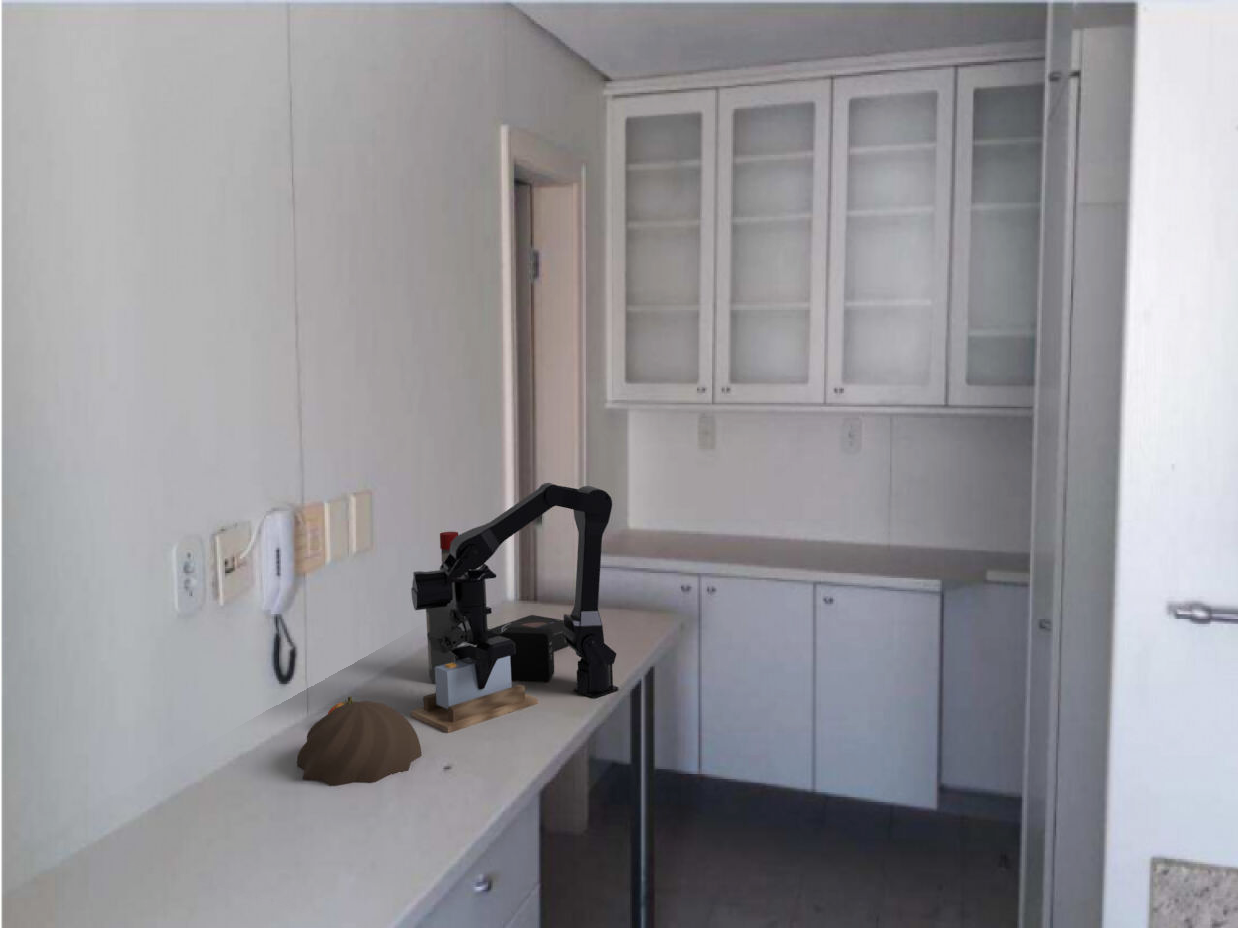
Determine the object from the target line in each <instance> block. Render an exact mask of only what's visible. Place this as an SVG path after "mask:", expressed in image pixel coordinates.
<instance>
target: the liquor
mask: <svg viewBox="0 0 1238 928" xmlns="http://www.w3.org/2000/svg"><path fill="white" fill-rule="evenodd" d="M458 535H459V532H458V531H443V532H440V533H439V544H440V545H439V547H440V550H441V551H440V552H441V553H440V554H441V565H442V564H443V562H444V561H445V559H446V557H447V556H448V554H449V553H450V546H451V542H452V540H453V539H454V538H455V537H456V536H458ZM452 589H453V599H452V601H451V602H450V603H448V604H447V607H439V608H431V609H425V614H426V615H425V617H426V634H427V633H428V632H430V631H431V630H433V629H434V628H435V627H437V626H439V625H440V624H441V623H443V622H446V621H448V620H449V613H450V612H451V611H450V610H452V609H455V596H454V583H452ZM426 637H427V638H426V639H427V653H428V655H427V656H428V659H427V661H428V675H429V678H430V679H431V682H432V683H434V684H435V685H436V683H435V667H437V666H440V665H444V664H448V663H451V662H455V661H456V660H455V657H454V656H453V655H452V654H451V653H449V652H448V653H441V652H440V651H437V650H433V649H432V646H431V644H430V641H429V639H428V636H427V635H426Z"/></svg>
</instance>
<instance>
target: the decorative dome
mask: <svg viewBox="0 0 1238 928" xmlns="http://www.w3.org/2000/svg"><path fill="white" fill-rule="evenodd" d="M420 757H422V747H421V743H420V740H419V736H418V734H417V731H416V730H415V728H414V727H413V725H412V724H411V723H410V722H409V721H408V719H406V717H404V716H403V715H402V714H401V713H400V712H398V711H397V710H395V709H394V708H392V707H390V706H389V705H386V704H384V703H381V702H376V701H375V702H374V701H368V700H362V701H354V702H353V703H349V704H345V705H342V706H340V707H338V708H336V709H334V710H333V711H332V712H331V713H329V714H328V713H327V714H326V715H325V716H323V717H321V718H320V719H319V720H318V721H317V722H315V723H314V724H313V725H312V727H311V728H310V729H309V731H308V732H307V734H306V742H305V743H304V744H303V745H302V747H301V749H300V750H299V752H298V754H297V756H296V766H297V767H298V768H299V769H300V770H302V771H303V775H302V779H303V780H304V781H316V782H322V783H324V784H326V785H328V786H331V787H337V786H343V785H348V784H349V785H350V784H352V783H353V784H354V783H357V784H359V783H361V784H373V783H377V782H378V781H380V780H382V779H384V778H386V777H388V776H391V774H392V775H395V774H396V773H397V774H399V773H398V772H401V773H405V772H408V771H409V770H410V768H411V764H412V763H413V762H414V761H416V760H417V759H419V758H420ZM404 771H405V772H404Z"/></svg>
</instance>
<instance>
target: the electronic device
mask: <svg viewBox="0 0 1238 928" xmlns="http://www.w3.org/2000/svg"><path fill="white" fill-rule="evenodd" d="M500 636H501V637H505V638H508V639H511V640H512V641H513V642H514V643H515V654H514V655H511V656H510V663H511V682H522V683H523V682H526V683H528V682H529V683H548V682H549V680H551V678H552V677H553V676H554V674H555V652H554V644H553V631H552V630H551V629H550V628H527V627H508V628H507V629H504V631H501V634H500Z"/></svg>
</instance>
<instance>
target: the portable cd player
mask: <svg viewBox="0 0 1238 928" xmlns="http://www.w3.org/2000/svg"><path fill="white" fill-rule="evenodd" d="M508 627H527V628H550V629H551V630H552V631H553V644H554V653H555V652H558V651H560V650H563V649H566V648H568V647H570V646H569V645H568V644H567V642H566V640H565V636H564V635H563V634H562V632H563V630H564V619H558V618H553V617H547V616H541V615H535V614H530V615H526V616H525V617H521V618H518V619H514V620H513V621H510V622H506V623H504V624H501V625H497V626H495V627H492V628H490V629H491V630H492V633H493V635H491V636H488V637H487V639H490V638H494V637H497V636H500V634H501V631H504V629H507V628H508Z"/></svg>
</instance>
